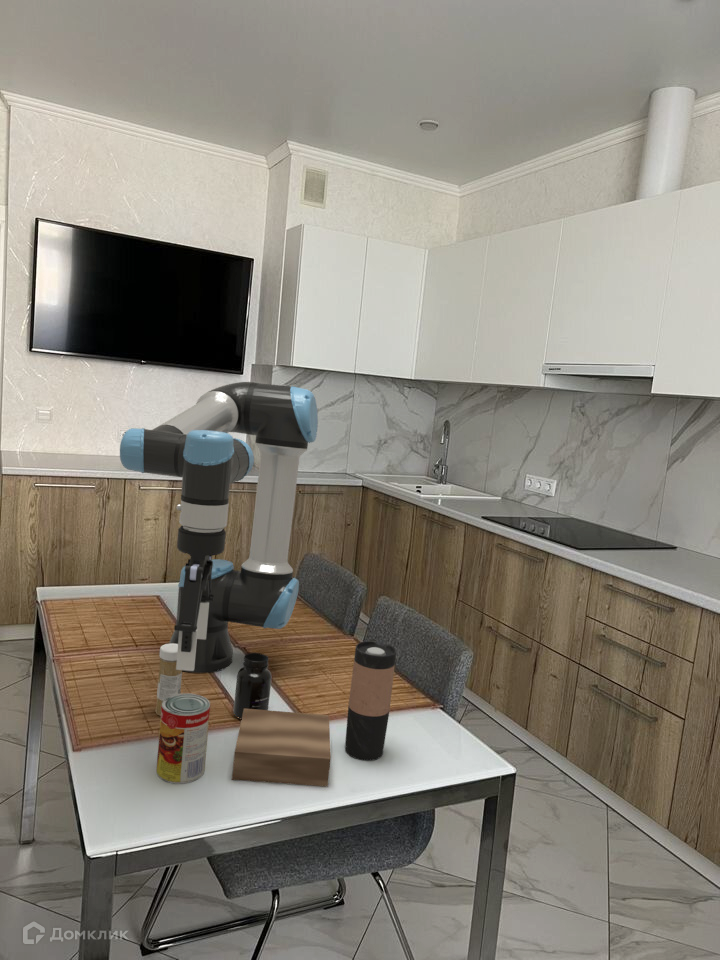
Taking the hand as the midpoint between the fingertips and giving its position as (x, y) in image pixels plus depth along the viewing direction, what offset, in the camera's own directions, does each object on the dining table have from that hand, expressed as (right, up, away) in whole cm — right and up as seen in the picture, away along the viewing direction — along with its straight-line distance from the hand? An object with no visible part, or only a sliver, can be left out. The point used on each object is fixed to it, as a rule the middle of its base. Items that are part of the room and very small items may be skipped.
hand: (191, 653), depth 122 cm
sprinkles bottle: (-10, -17, +22) cm, 30 cm away
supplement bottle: (+6, -18, +25) cm, 32 cm away
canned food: (-3, -21, +3) cm, 21 cm away
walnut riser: (+14, -21, +10) cm, 27 cm away
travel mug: (+28, -22, +16) cm, 39 cm away
